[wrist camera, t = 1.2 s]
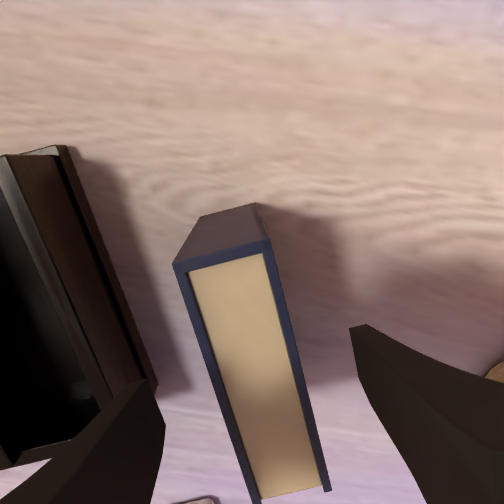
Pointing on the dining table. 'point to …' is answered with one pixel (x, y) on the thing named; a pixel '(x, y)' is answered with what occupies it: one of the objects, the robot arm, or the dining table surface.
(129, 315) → the rack
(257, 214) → the book
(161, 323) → the dining table surface
